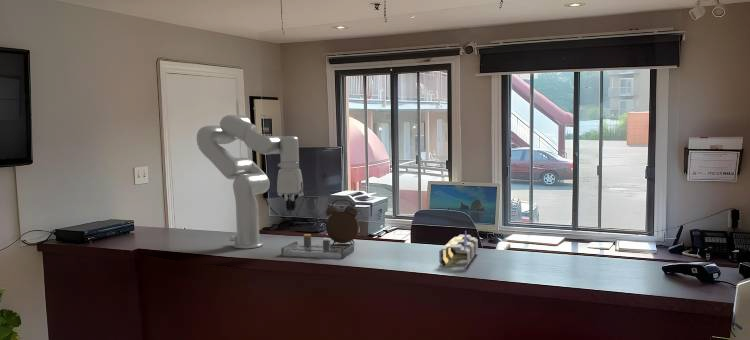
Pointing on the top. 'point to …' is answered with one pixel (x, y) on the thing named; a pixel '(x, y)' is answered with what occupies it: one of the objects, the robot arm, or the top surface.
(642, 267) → the top surface
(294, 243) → the console
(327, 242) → the fader cap
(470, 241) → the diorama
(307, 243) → the fader cap
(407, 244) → the top surface
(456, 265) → the top surface
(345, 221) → the alarm clock
